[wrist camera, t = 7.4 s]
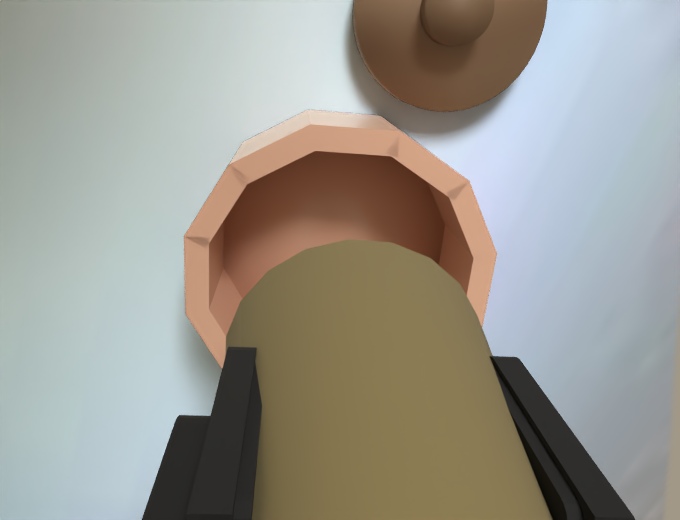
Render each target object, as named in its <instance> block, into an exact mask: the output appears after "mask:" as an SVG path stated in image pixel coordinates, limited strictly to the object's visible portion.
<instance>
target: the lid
mask: <svg viewBox="0 0 680 520" xmlns="http://www.w3.org/2000/svg"><path fill="white" fill-rule="evenodd" d="M546 11H547V0H354V3H353V27H354V34H355V39H356V43H357V46H358V50H359V52H360V55H361V57H362V59H363V62H364V63H365V65H366V67H367V69H368V70H369V72H370V73H371V75H372V76H373V77H374V79H375V80H376V81H377V82H378V83H379V84H380V85H381V86H382V87H383V88H384V89H385V90H386V91H388V92H389V93H390V94H391V95H393V96H394V97H396V98H398V99H400V100H401V101H403V102H406V103H408V104H411V105H413V106H416V107H419V108H422V109H427V110H431V111H441V112H447V111H458V110H464V109H468V108H471V107H474V106H478V105H480V104H482V103H484V102H486V101H488V100H490V99H492V98H493V97H495V96H496V95H498V94H500V93H501V92H502V91H503V90H505V89H506V88H507V87H508V86H509V85H510V84H511V83H512V82H513V81H514V80H515V79H516V78H517V77H518V76H519V75H520V74H521V72H522V71H523V70H524V68H525V67H526V66H527V64H528V62H529V61H530V59H531V57H532V56H533V54H534V52H535V50H536V47H537V45H538V43H539V40H540V37H541V34H542V31H543V28H544V23H545V18H546Z"/></svg>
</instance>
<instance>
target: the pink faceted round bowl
mask: <svg viewBox="0 0 680 520" xmlns="http://www.w3.org/2000/svg"><path fill="white" fill-rule="evenodd" d="M347 239H352V240H365V241H378V242H392V243H394V244H397V245H399V246H402V247H404V248H407V249H409V250H412V251H414V252H417V253H419V254H422V255H424V256H427V257H429V258H431V259H432V260H433V261H434V262H436V263H437V264H438V265H439V266H440V267H441V268H443V269H444V270H445V271H446V272H447V273H448V274H449V275H451V276H452V277H453V278H454V279H455V280H456V281H457V282H459V283H460V285H461V287H462V288H463V290H464V292H465V294H466V296H467V298H468V299H469V301H470V303H471V305H472V307H473V309H474V310H475V312H476V314H477V316H478V319H479V321H480V324H481V327H482V326H483V321H484V316H485V311H486V306H487V301H488V296H489V291H490V286H491V281H492V276H493V271H494V266H495V261H496V256H497V252H496V250H495V247H494V245H493V242H492V239H491V237H490V234H489V231H488V229H487V226H486V224H485V221H484V218H483V216H482V213H481V211H480V208H479V205H478V203H477V200H476V197H475V195H474V192H473V190H472V187H471V184H470V182H469V180H467V179H466V178H465V177H463V176H462V175H461V174H459V173H458V172H457V171H455V170H454V169H453V168H451V167H450V166H449V165H447V164H446V163H445V162H443V161H442V160H441V159H439V158H438V157H437V156H435V155H434V154H432V153H431V152H430V151H428V150H427V149H426V148H424V147H423V146H421V145H420V144H419V143H417V142H416V141H415V140H413V139H412V138H410V137H409V136H408V135H406V134H405V133H404V132H402V131H401V130H399V129H398V128H397V127H395V126H394V125H393V124H391V123H390V122H388V121H387V120H386V119H384V118H383V117H382V116H380V115H368V114H356V113H343V112H331V111H318V110H306V111H304V112H302V113H300V114H298V115H296V116H294V117H292V118H290V119H288V120H286V121H284V122H282V123H280V124H278V125H276V126H274V127H272V128H270V129H268V130H266V131H264V132H262V133H260V134H258V135H256V136H254V137H252V138H250V139H248V140H246V141H244V142H243V143H242V144H241V146H240V147H239V149H238V151H237V152H236V154H235V155H234V157H233V158H232V160H231V162H230V163H229V165H228V167H227V168H226V170H225V171H224V173H223V175H222V176H221V178H220V179H219V181H218V183H217V184H216V186H215V187H214V189H213V191H212V192H211V194H210V195H209V197H208V199H207V200H206V202H205V203H204V205H203V207H202V208H201V210H200V211H199V213H198V215H197V216H196V218H195V219H194V221H193V223H192V224H191V226H190V227H189V229H188V231H187V232H186V234H185V235H184V262H185V310H186V316H187V317H188V319H189V320H190V322H191V323H192V325H193V326H194V328H195V329H196V331H197V332H198V334H199V335H200V337H201V338H202V340H203V341H204V343H205V344H206V346H207V347H208V349H209V350H210V352H211V353H212V355H213V356H214V358H215V359H216V361H217V362H218V364H219V365H220V367H221V368H223V364H224V360H225V351H226V335H227V333H228V330H229V328H230V326H231V323H232V321H233V318H234V316H235V313H236V311H237V309H238V306H239V304H240V301H241V300H242V299H243V298H244V297H245V296H246V295H247V293H248V292H249V291H250V290H251V289H252V288H253V287H254V286H255V285H256V283H257V282H258V281H259V280H260V279H261V278H262V277H263V276H264V275H265V273H266V272H267V271H268V270H270V269H272V268H274V267H275V266H277V265H279V264H280V263H282V262H284V261H286V260H287V259H289V258H291V257H293V256H294V255H296V254H298V253H299V252H301V251H303V250H305V249H308V248H312V247H317V246H321V245H326V244H330V243H334V242H339V241H343V240H347Z"/></svg>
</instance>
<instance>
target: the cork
mask: <svg viewBox="0 0 680 520" xmlns="http://www.w3.org/2000/svg"><path fill="white" fill-rule="evenodd" d="M228 347H256V348H257V350H256V359H255V364H256V370H257V376H258V383H259V389H260V396H261V402H262V413H261V424H260V435H259V445H258V456H257V467H256V478H255V489H254V500H253V511H252V520H553V519H552V516H551V514H550V511H549V509H548V506H547V504H546V501H545V499H544V496H543V494H542V491H541V489H540V486H539V484H538V481H537V479H536V476H535V474H534V471H533V469H532V466H531V464H530V461H529V459H528V456H527V454H526V452H525V449H524V447H523V444H522V442H521V439H520V437H519V434H518V432H517V429H516V427H515V424H514V422H513V419H512V417H511V414H510V412H509V409H508V406H507V403H506V401H505V398H504V395H503V392H502V389H501V386H500V384H499V381H498V378H497V375H496V372H495V369H494V366H493V363H492V362H491V359H490V357H489V356H492V353H491V350H490V348H489V345H488V342H487V340H486V337H485V334H484V332H483V329H482V327H481V324H480V321H479V319H478V316H477V314H476V312H475V310H474V309H473V307H472V305H471V303H470V301H469V299H468V298H467V296H466V294H465V292H464V290H463V288H462V287H461V285H460V283H459V282H457V281H456V280H455V279H454V278H453V277H452V276H451V275H449V274H448V273H447V272H446V271H445V270H444V269H443V268H441V267H440V266H439V265H438V264H437V263H436V262H434V261H433V260H432V259H431V258H429V257H427V256H424V255H422V254H419V253H417V252H414V251H412V250H409V249H407V248H404V247H402V246H399V245H397V244H394V243H392V242H378V241H365V240H352V239H347V240H343V241H339V242H334V243H330V244H326V245H321V246H317V247H312V248H308V249H305V250H303V251H301V252H299V253H298V254H296V255H294V256H293V257H291V258H289V259H287V260H286V261H284V262H282V263H280V264H279V265H277V266H275V267H274V268H272V269H270V270H268V271H267V272H266V273H265V275H264V276H263V277H262V278H261V279H260V280H259V281H258V282H257V283H256V285H255V286H254V287H253V288H252V289H251V290H250V291H249V292H248V293H247V295H246V296H245V297H244V298H243V299H242V300H241V301H240V304H239V306H238V309H237V311H236V313H235V316H234V318H233V321H232V323H231V326H230V328H229V330H228V333H227V335H226V351H225V356H226V352H227V349H228Z"/></svg>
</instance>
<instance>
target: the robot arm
mask: <svg viewBox="0 0 680 520" xmlns="http://www.w3.org/2000/svg"><path fill="white" fill-rule="evenodd" d="M256 350H257V348H256V347H228V349H227V352H226V356H225V360H224V364H223V368H222V372H221V377H220V381H219V385H218V389H217V393H216V397H215V401H214V405H213V409H212V413H211V416H189V415H179V416H178V417H177V419H176V421H175V424H174V427H173V430H172V433H171V436H170V439H169V441H168V444H167V447H166V450H165V453H164V456H163V459H162V462H161V465H160V468H159V471H158V474H157V477H156V480H155V483H154V486H153V488H152V491H151V494H150V497H149V500H148V503H147V506H146V509H145V512H144V515H143V518H142V520H252V511H253V500H254V489H255V478H256V467H257V456H258V445H259V435H260V424H261V413H262V402H261V396H260V389H259V383H258V376H257V370H256V364H255V359H256ZM489 357H490V359H491V362H492V363H493V366H494V369H495V372H496V375H497V378H498V381H499V384H500V386H501V389H502V392H503V395H504V398H505V401H506V403H507V406H508V409H509V412H510V414H511V417H512V419H513V422H514V424H515V427H516V429H517V432H518V434H519V437H520V439H521V442H522V444H523V447H524V449H525V452H526V454H527V456H528V459H529V461H530V464H531V466H532V469H533V471H534V474H535V476H536V479H537V481H538V484H539V486H540V489H541V491H542V494H543V496H544V499H545V501H546V504H547V506H548V509H549V511H550V514H551V516H552V519H553V520H635V518H634V516H633V515H632V513H631V512H630V511H629V509H628V508H627V507H626V505H625V504H624V502H623V501H622V500H621V498H620V497H619V495H618V494H617V493H616V491H615V490H614V489H613V487H612V486H611V484H610V483H609V482H608V480H607V479H606V478H605V476H604V475H603V473H602V472H601V471H600V469H599V468H598V467H597V465H596V464H595V462H594V461H593V460H592V458H591V457H590V456H589V454H588V453H587V451H586V450H585V449H584V447H583V446H582V445H581V443H580V442H579V440H578V439H577V438H576V436H575V435H574V434H573V432H572V431H571V429H570V428H569V427H568V425H567V424H566V422H565V421H564V420H563V418H562V417H561V416H560V414H559V413H558V411H557V410H556V409H555V407H554V406H553V405H552V403H551V402H550V400H549V399H548V398H547V396H546V395H545V394H544V392H543V391H542V389H541V388H540V387H539V385H538V384H537V383H536V381H535V380H534V378H533V377H532V376H531V374H530V373H529V372H528V370H527V369H526V367H525V366H524V365H523V363H522V362H521V361H520V359H518V358H517V357H499V356H489Z"/></svg>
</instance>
